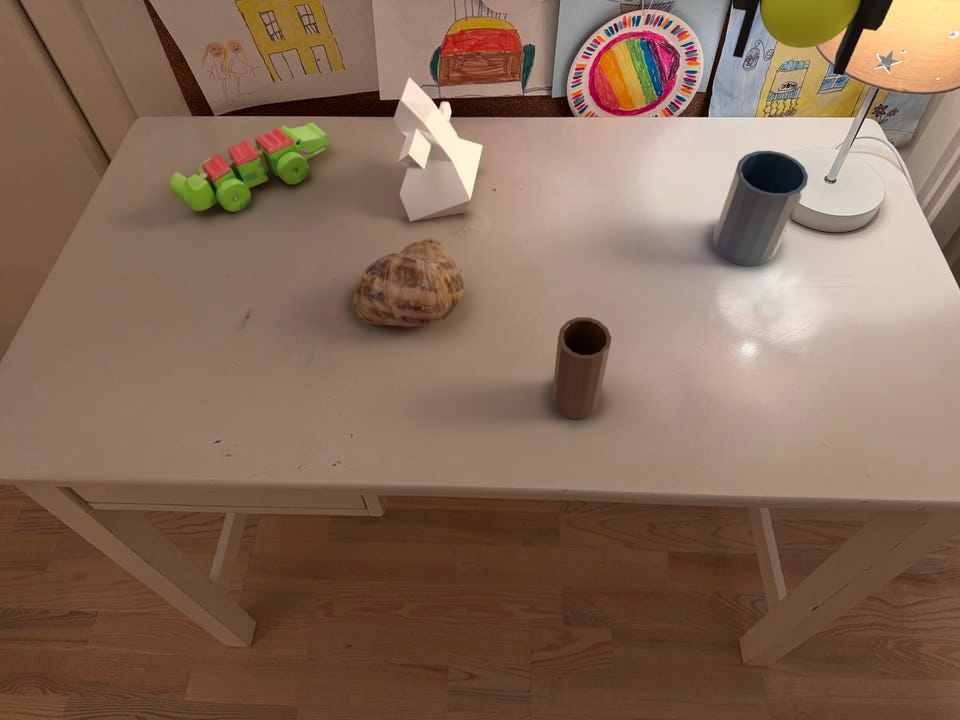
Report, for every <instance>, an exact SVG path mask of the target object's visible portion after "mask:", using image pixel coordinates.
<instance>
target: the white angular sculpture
mask: <svg viewBox="0 0 960 720" xmlns="http://www.w3.org/2000/svg"><path fill="white" fill-rule="evenodd" d="M451 116H452V109H451V105H450V103H449V101H441V102H440V105H439V108H438V106H437V105H436V103H435V102H434V101H433V99H432V98H430V97H429V95H428V94H427V93H426V92H425V91H423V90H422V88H421V87H420V86H419V85H418V84H417V83H416V82H415V81H414V80H413V79H412V78H411V77H410V76H408V78H407V81H406V83H405V86H404V88H403V91H402V93H401V95H400V99H399V102H398V105H397V107H396V110H395V113H394V116H393V123H394V125H395V127H396V129H397V130H398V131H399V132H400V133H401V135H402V136H403V138H404V143H403V146H402V149H401V152H400V155H399V158H398V161H397V163H399V164H401V165H402V166H404V167H406V168H407V170H406V172H405V174H404V179H403V181H402V185H401V189H400V191H399V197H400V199H401V202H402V204H403V206H404V209H405V212H406V215H407V218H408V219H409V222H416V221H423V220H429V219H435V218H441V217H447V216H453V215H459V214H464V213H466V212H467V211H466V210H467V209H468V206H469V205H470V202H471V198H472V195H473V190H474V186H475V181H476V177H477V173H478V170H479V164H480V160H481V155H482V151H483V147H484V145H482V144H480V143H476V142H474V141H470V140H467V139H463V138H461V137H459V136H458V134H457V132H456V130H455V129H454V127H453V125H452V124H451V122H450V120H451Z"/></svg>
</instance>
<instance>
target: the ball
mask: <svg viewBox="0 0 960 720" xmlns="http://www.w3.org/2000/svg"><path fill="white" fill-rule="evenodd" d="M861 2H862V0H760V1H759V13H760V18H761V21H762V25H763V26H764V28H765V29H766V31H767V33H768V34H769V35H770V36H771V37H772V38H773V39H774V40H776V41H777V42H778V43H780V44H782V45H785V46H787V47H791V48H797V49H807V48H813V47H817V46H820V45H823V44H825V43H828V42H829V41H831V40H833V39H834V38H836V37H837V36H839V35H840V34H841V33H842V32H843V31H844V30H846V29H847V26H848V25H849V24H850V23H851V21H852V20H853V18H854V17H855V15H856V14H857V12H858V10H859V8H860V5H861Z"/></svg>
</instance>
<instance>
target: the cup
mask: <svg viewBox="0 0 960 720" xmlns="http://www.w3.org/2000/svg"><path fill="white" fill-rule="evenodd" d="M808 182H809V174H808V171H807V169H806V167H805V166H804V165H803V164H802V163H801V162H800V161H798V160H797V159H796V158H794V157H792V156H790V155H788V154H786V153H784V152H779V151H774V150H756V151H752V152H749V153H747V154H744V156H743V157H742V158H741V159H739V160H738V162H737V164H736V167H735V170H734V173H733V175H732V179H731V182H730V184H729V187H728V191H727V193H726V197H725V199H724V202H723V205H722V208H721V211H720V213H719V216H718V220H717V223H716V225H715V229H714V233H713V236H712V243H713V246H714V248H715V249H716V250H715V251H717V253H718V254H719V255H720V256H721V257H722V258H724V259H726V260H728V261H729V262H730V263H733V264H736V265H740V266H746V267H754V266H755V267H756V266H760V265H763V264H766V263H768V262H769V261H770V260H771V259H773V257H774V256H775V254H776V252H777V251H778V250H779V247H780V245H781V243H782V240H783V239H784V237H785V235H786V232H787V230H788V228H789V225H790V223H791V222H792V219H793V217H794V214H795V213H796V210H797V209H798V206H799V203H800V201H801V199H802V197H803V194H804V192H805V191H806V188H807V187H808Z"/></svg>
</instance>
